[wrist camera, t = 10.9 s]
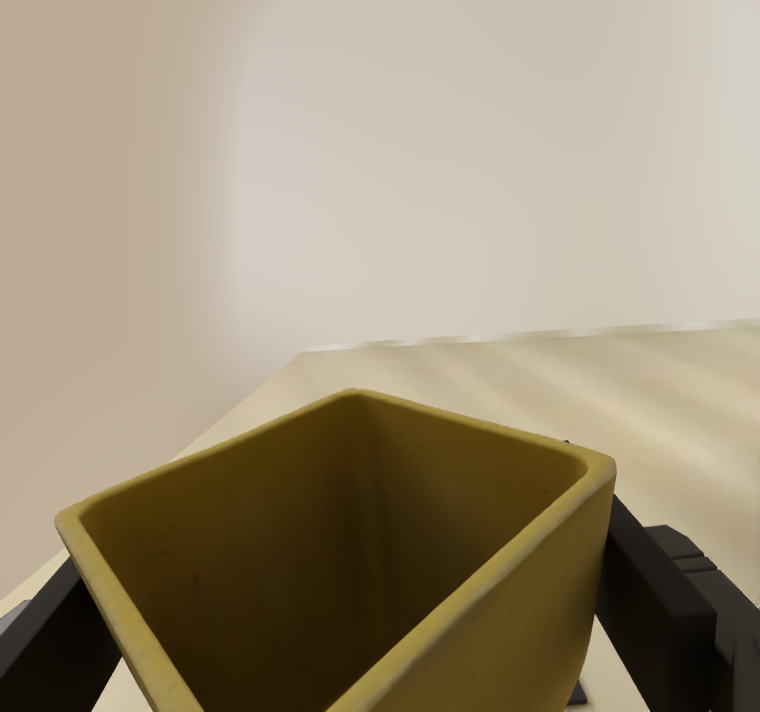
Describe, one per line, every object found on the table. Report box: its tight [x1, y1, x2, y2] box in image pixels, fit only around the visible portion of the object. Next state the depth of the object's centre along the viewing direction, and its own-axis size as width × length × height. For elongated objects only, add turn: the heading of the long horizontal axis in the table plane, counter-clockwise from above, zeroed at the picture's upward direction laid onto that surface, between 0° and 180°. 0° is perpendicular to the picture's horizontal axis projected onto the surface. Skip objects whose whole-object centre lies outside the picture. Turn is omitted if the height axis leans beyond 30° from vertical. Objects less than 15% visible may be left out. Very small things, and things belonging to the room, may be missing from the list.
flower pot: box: [54, 388, 617, 712], centre depth 12 cm, size 9×9×9 cm
